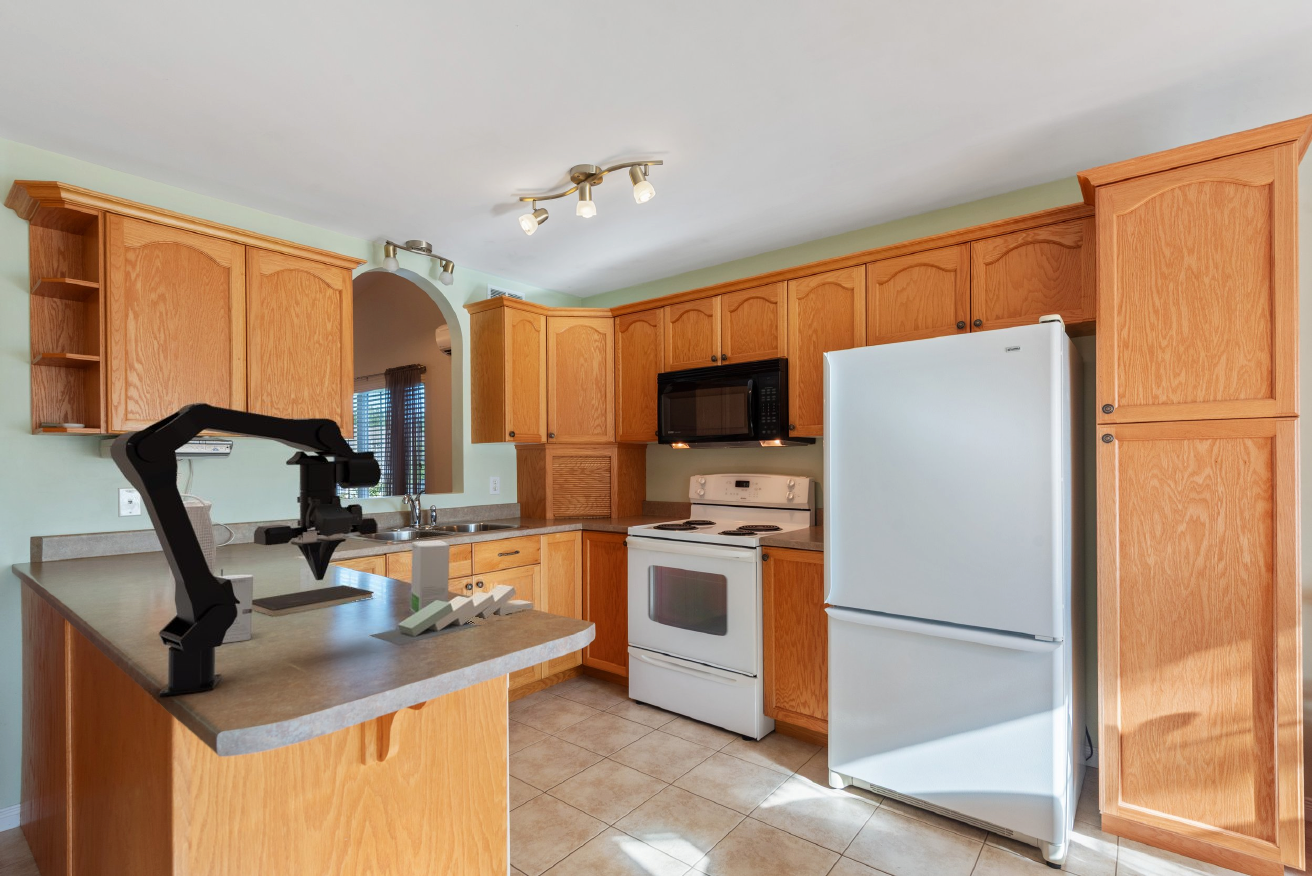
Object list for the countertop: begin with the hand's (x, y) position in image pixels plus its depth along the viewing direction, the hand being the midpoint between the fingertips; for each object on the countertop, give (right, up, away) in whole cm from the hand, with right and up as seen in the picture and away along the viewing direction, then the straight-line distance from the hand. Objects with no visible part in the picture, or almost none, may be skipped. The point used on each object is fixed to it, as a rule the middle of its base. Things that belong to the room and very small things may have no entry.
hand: (319, 579), depth 113 cm
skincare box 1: (-22, -14, +11) cm, 28 cm away
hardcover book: (-25, -16, +43) cm, 52 cm away
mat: (+16, -13, +17) cm, 27 cm away
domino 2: (+14, -12, +15) cm, 24 cm away
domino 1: (+11, -12, +11) cm, 19 cm away
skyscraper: (-32, -14, +14) cm, 38 cm away
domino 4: (+21, -12, +23) cm, 34 cm away
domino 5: (+24, -12, +26) cm, 38 cm away
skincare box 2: (+9, -14, +31) cm, 35 cm away
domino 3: (+17, -12, +19) cm, 28 cm away
